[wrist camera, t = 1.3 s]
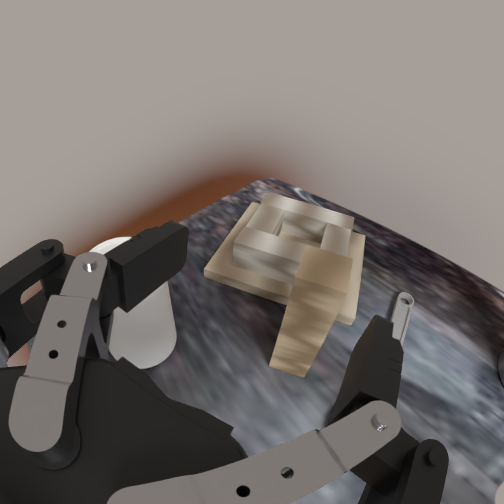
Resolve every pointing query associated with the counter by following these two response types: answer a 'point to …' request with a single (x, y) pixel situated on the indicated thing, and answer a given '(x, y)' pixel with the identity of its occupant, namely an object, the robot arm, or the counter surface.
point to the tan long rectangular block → (311, 309)
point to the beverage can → (142, 324)
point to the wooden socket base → (285, 249)
